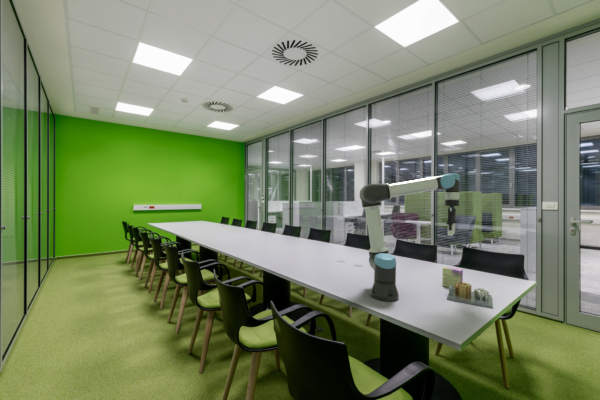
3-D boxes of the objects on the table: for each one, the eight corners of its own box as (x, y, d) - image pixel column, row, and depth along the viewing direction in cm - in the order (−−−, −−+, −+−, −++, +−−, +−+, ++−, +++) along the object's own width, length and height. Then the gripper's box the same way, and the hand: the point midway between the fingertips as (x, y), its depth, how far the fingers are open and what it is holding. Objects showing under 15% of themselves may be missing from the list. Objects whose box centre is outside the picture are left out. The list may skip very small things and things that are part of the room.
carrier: (446, 299, 152) (447, 288, 152) (450, 289, 169) (450, 279, 169) (492, 308, 141) (492, 296, 141) (491, 297, 158) (491, 286, 158)
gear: (454, 294, 156) (454, 284, 156) (455, 291, 163) (455, 281, 163) (470, 298, 152) (471, 287, 152) (471, 293, 159) (471, 283, 159)
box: (462, 287, 174) (462, 269, 174) (460, 289, 170) (460, 270, 170) (444, 284, 181) (445, 266, 181) (442, 286, 177) (442, 267, 177)
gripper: (457, 199, 152) (456, 237, 152) (460, 199, 173) (460, 233, 173) (442, 199, 156) (441, 236, 156) (447, 199, 177) (446, 232, 177)
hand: (451, 234), depth 165 cm, fingers open, 13 cm apart
